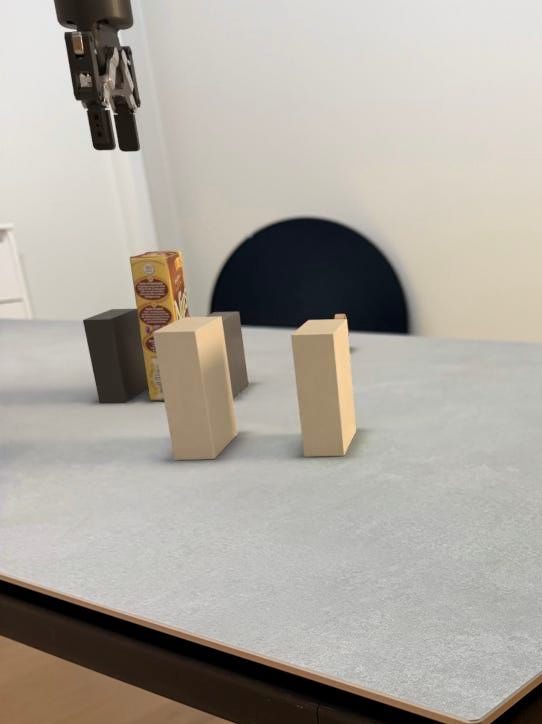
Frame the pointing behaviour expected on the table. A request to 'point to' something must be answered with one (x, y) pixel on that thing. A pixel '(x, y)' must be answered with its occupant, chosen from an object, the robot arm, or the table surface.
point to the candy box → (157, 304)
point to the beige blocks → (214, 394)
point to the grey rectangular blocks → (126, 358)
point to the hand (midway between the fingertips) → (118, 150)
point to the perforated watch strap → (341, 316)
